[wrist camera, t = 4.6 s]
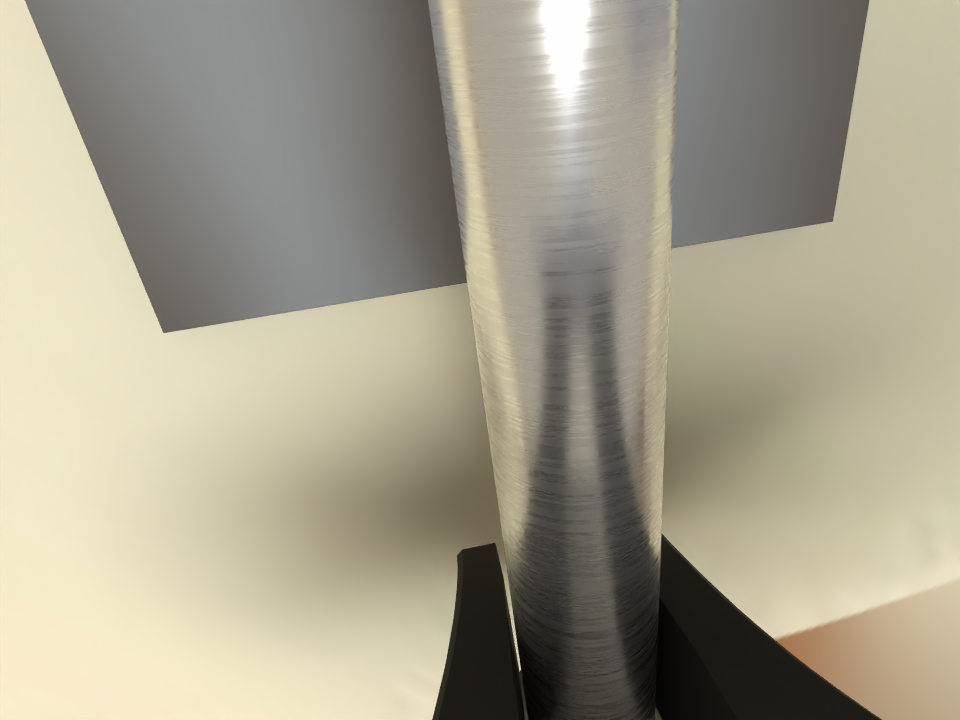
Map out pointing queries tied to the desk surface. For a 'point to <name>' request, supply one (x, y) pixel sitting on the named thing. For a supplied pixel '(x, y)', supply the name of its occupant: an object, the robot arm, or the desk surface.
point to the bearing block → (397, 139)
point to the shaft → (570, 320)
